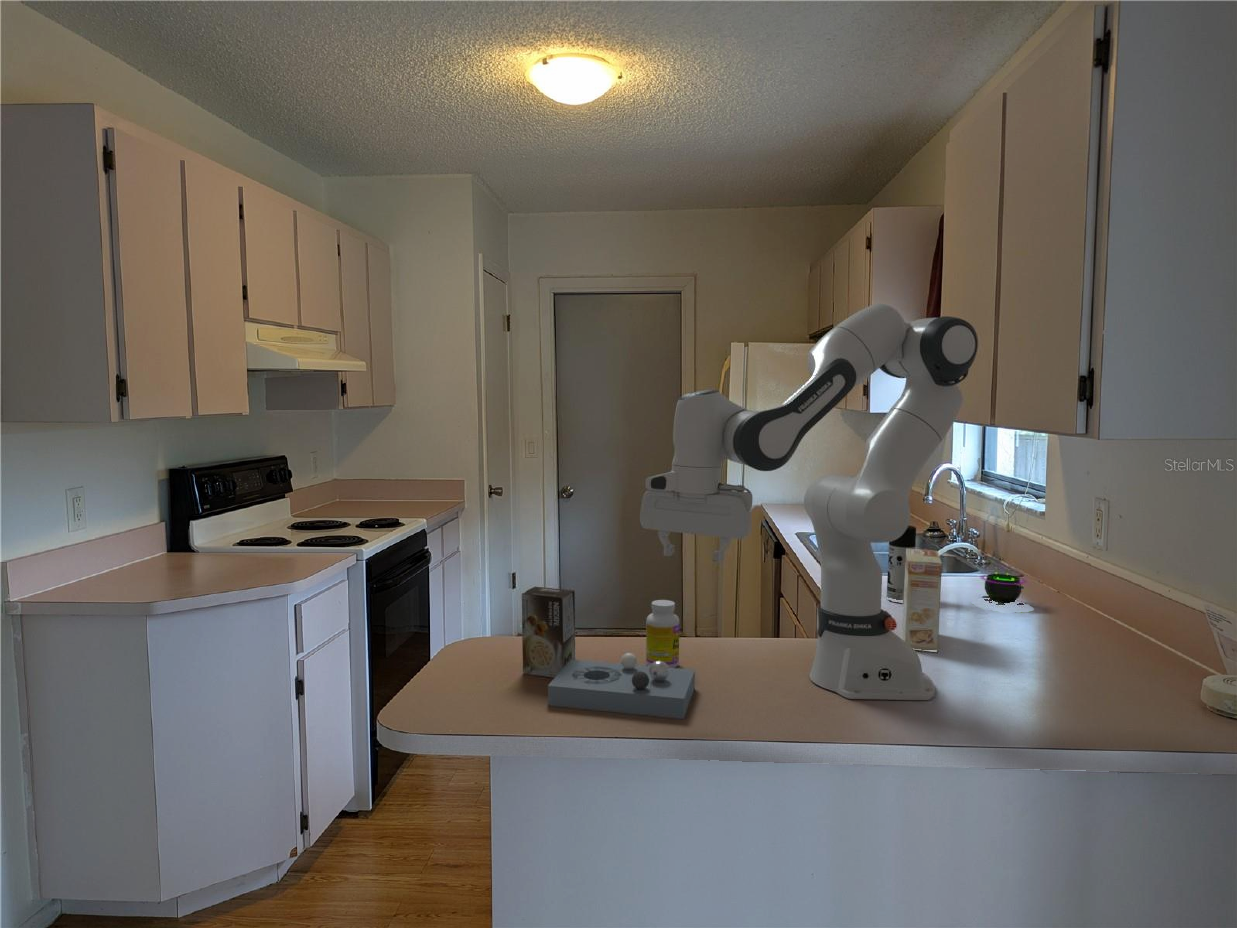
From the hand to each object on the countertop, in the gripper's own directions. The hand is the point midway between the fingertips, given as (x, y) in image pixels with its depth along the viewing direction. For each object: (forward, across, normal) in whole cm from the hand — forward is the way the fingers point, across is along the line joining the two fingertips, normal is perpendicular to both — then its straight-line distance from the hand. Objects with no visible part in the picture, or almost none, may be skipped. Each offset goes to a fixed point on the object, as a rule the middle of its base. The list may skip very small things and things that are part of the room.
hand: (693, 558), depth 139 cm
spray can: (+24, -26, -87) cm, 94 cm away
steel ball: (+20, +4, +5) cm, 21 cm away
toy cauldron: (+23, -50, -95) cm, 110 cm away
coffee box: (+26, +29, +2) cm, 39 cm away
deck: (+26, +10, +6) cm, 28 cm away
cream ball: (+20, +11, +2) cm, 23 cm away
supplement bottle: (+26, +10, -12) cm, 30 cm away
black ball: (+20, +5, +10) cm, 23 cm away
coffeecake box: (+24, -34, -53) cm, 67 cm away
